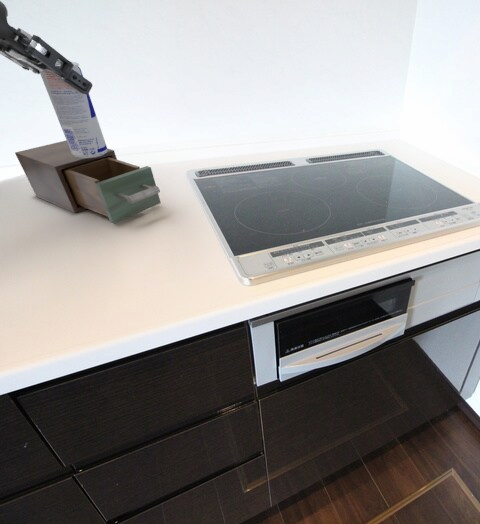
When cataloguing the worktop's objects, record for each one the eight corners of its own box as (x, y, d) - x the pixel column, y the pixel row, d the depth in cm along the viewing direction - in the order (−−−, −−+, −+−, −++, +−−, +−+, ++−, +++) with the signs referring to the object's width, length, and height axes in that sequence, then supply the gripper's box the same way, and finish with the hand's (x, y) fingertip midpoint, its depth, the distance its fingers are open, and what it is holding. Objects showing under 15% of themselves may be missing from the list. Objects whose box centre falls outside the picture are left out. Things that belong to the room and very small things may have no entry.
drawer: (175, 208, 74) (165, 171, 70) (128, 229, 67) (114, 190, 62) (122, 189, 80) (110, 154, 76) (73, 207, 73) (57, 169, 68)
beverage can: (115, 153, 68) (85, 63, 59) (84, 161, 64) (47, 66, 55) (97, 147, 70) (66, 59, 61) (66, 155, 66) (28, 61, 57)
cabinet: (128, 192, 81) (114, 150, 75) (75, 213, 72) (54, 166, 67) (90, 179, 86) (74, 138, 80) (36, 196, 77) (14, 152, 72)
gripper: (-12, -27, 44) (114, 73, 59) (-65, -29, 49) (64, 63, 65) (-43, 26, 43) (93, 113, 59) (-93, 17, 48) (44, 99, 64)
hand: (77, 86), depth 62 cm, fingers closed on beverage can, 5 cm apart
